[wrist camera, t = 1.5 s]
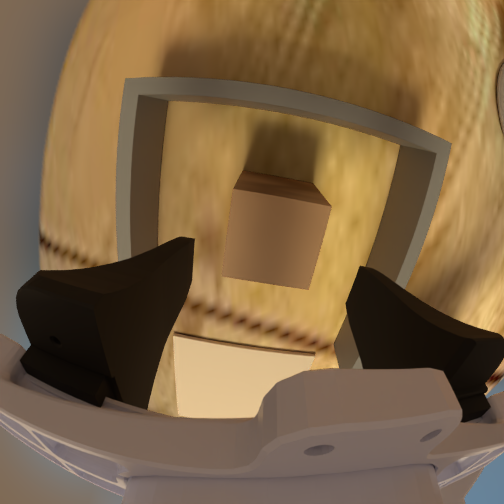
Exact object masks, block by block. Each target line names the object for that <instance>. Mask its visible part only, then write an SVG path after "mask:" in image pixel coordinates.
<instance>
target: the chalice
mask: <svg viewBox="0 0 504 504" xmlns="http://www.w3.org/2000/svg"><path fill="white" fill-rule="evenodd" d="M497 104H498V111H499V118H500V122H501V126H502V131H503V134H504V63H503V65H502V66H501V68H500V71H499V75H498V81H497Z"/></svg>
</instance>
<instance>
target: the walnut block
mask: <svg viewBox="0 0 504 504" xmlns="http://www.w3.org/2000/svg"><path fill="white" fill-rule="evenodd" d="M330 211H331V205H330V204H329V203H328V201H327V200H326V199H325V198H324V196H323V195H322V194H321V193H320V191H319V190H318V189H317V188H316V186H315V185H314V184H313V183H309V182H304V181H299V180H294V179H289V178H283V177H278V176H272V175H267V174H261V173H255V172H248V171H242V173H241V175H240V177H239V179H238V181H237V183H236V184H235V186H234V188H233V193H232V201H231V208H230V215H229V222H228V230H227V237H226V245H225V253H224V261H223V269H222V276H223V277H229V278H235V279H241V280H248V281H254V282H260V283H266V284H273V285H279V286H286V287H293V288H299V289H306V290H308V289H309V286H310V283H311V280H312V276H313V273H314V270H315V266H316V263H317V259H318V256H319V252H320V249H321V245H322V242H323V238H324V234H325V230H326V227H327V223H328V219H329V215H330Z"/></svg>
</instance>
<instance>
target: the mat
mask: <svg viewBox="0 0 504 504" xmlns="http://www.w3.org/2000/svg"><path fill="white" fill-rule="evenodd" d="M173 343H174V365H175V381H176V394H177V406H178V415H181V416H186V417H190V418H248V417H255V416H256V414H257V413H258V411H259V408H260V405H261V403H262V400H263V397H264V396H265V395H266V394H267V393H268V392H269V391H270V390H271V388H272V387H273V386H274V385H275V384H276V383H277V382H279V381H281V380H284V379H286V378H288V377H291V376H293V375H295V374H298V373H300V372H302V371H308V370H309V369H310V367H311V365H312V363H313V361H314V358H315V354H311V353H300V352H290V351H281V350H273V349H265V348H257V347H250V346H243V345H237V344H231V343H224V342H218V341H213V340H207V339H202V338H197V337H191V336H186V335H181V334H177V333H174V335H173Z"/></svg>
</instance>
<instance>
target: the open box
mask: <svg viewBox="0 0 504 504" xmlns="http://www.w3.org/2000/svg"><path fill="white" fill-rule="evenodd" d="M168 101H186V102H202V103H214V104H224V105H233V106H241V107H248V108H255V109H262V110H268V111H274V112H280V113H285V114H290V115H295V116H300V117H305V118H309V119H314V120H318V121H322V122H327V123H331V124H334V125H338V126H342V127H346V128H349V129H353V130H356V131H360V132H363V133H366V134H370V135H373V136H376V137H379V138H382V139H385V140H388V141H391V142H394V143H396V144H399V145H401V146H400V151H399V155H398V160H397V164H396V168H395V172H394V177H393V180H392V184H391V188H390V192H389V196H388V199H387V203H386V206H385V210H384V213H383V216H382V220H381V223H380V226H379V229H378V233H377V236H376V239H375V242H374V245H373V248H372V251H371V254H370V256H369V259H368V262H367V265H366V267H370V268H373V269H375V270H377V271H379V272H381V273H382V274H384V275H385V276H387V277H388V278H390V279H391V280H392V281H394V282H395V283H397V284H398V285H399V286H401V287H402V288H403V289H405V288H406V285H407V283H408V281H409V279H410V276H411V274H412V272H413V269H414V267H415V264H416V262H417V259H418V257H419V254H420V252H421V249H422V246H423V244H424V241H425V238H426V235H427V232H428V230H429V227H430V224H431V221H432V218H433V214H434V211H435V208H436V205H437V201H438V198H439V194H440V191H441V187H442V183H443V180H444V176H445V171H446V167H447V163H448V158H449V154H450V149H451V144H452V143H450V142H448V141H446V140H444V139H442V138H440V137H437V136H435V135H433V134H431V133H429V132H426V131H424V130H422V129H420V128H417V127H415V126H412V125H410V124H408V123H405V122H403V121H400V120H397V119H395V118H392V117H389V116H387V115H384V114H381V113H378V112H375V111H372V110H369V109H366V108H363V107H360V106H357V105H353V104H350V103H346V102H343V101H339V100H336V99H332V98H328V97H324V96H320V95H316V94H312V93H307V92H303V91H298V90H293V89H288V88H282V87H277V86H271V85H264V84H258V83H250V82H242V81H233V80H223V79H210V78H191V77H143V78H125V84H124V91H123V98H122V105H121V113H120V123H119V134H118V147H117V165H116V231H117V250H118V261H122V260H125V259H128V258H131V257H134V256H137V255H139V254H141V253H144V252H146V251H149V250H151V249H153V248H156V247H157V239H158V205H159V186H160V172H161V160H162V149H163V139H164V130H165V122H166V114H167V107H168ZM334 348H335V352H336V356H337V360H338V365H339V369H363V367H362V363H361V359H360V356H359V353H358V350H357V347H356V344H355V340H354V337H353V334H352V331H351V328H350V325H349V321H348V316H346V318H345V320H344V323H343V325H342V327H341V329H340V332H339V334H338V336H337V338H336V340H335V343H334Z"/></svg>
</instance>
